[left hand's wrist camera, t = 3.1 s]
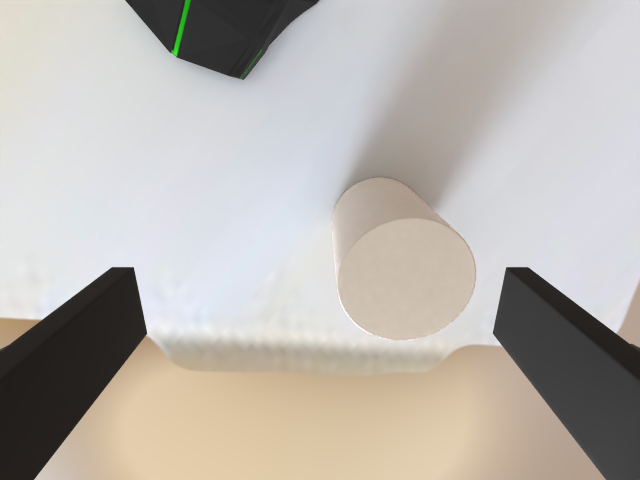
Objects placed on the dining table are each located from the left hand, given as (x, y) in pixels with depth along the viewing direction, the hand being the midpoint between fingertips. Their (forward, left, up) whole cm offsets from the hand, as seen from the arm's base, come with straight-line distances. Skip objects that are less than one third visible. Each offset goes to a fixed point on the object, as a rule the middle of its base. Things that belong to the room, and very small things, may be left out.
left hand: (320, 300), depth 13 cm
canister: (-4, +4, -18) cm, 19 cm away
